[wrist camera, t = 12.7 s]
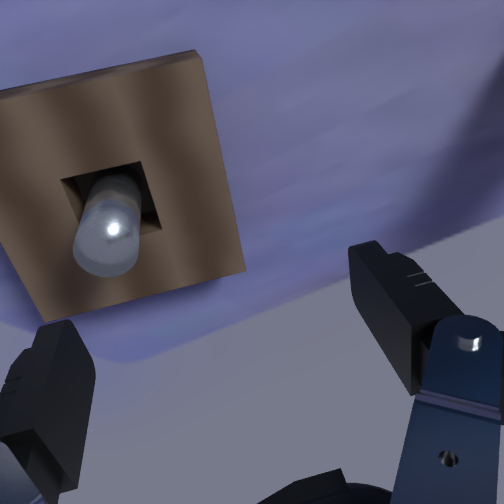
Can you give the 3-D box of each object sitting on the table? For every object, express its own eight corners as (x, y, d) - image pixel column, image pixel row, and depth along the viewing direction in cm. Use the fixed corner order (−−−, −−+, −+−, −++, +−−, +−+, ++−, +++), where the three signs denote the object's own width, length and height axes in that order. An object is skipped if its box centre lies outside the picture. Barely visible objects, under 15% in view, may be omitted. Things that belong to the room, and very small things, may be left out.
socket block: (194, 49, 34) (201, 58, 30) (236, 243, 44) (246, 271, 40) (-43, 99, 33) (-71, 115, 28) (55, 289, 42) (44, 322, 38)
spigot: (134, 158, 36) (127, 216, 27) (148, 201, 39) (145, 269, 29) (86, 168, 36) (62, 231, 27) (102, 211, 38) (85, 283, 29)
